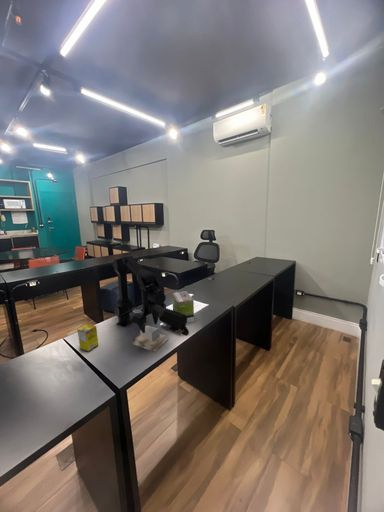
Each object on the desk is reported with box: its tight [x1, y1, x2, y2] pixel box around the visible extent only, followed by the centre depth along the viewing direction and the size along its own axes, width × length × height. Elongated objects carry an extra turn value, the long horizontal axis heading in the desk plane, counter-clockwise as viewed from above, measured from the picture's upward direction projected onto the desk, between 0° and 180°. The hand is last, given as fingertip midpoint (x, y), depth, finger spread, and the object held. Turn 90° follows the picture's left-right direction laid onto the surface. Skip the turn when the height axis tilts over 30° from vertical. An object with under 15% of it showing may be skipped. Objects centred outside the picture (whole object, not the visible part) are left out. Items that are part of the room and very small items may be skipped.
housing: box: [139, 325, 161, 342], centre depth 107 cm, size 8×5×4 cm, turn 62°
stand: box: [131, 333, 169, 353], centre depth 108 cm, size 14×11×3 cm
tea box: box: [171, 290, 195, 325], centre depth 130 cm, size 15×10×15 cm
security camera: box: [158, 307, 190, 336], centre depth 118 cm, size 7×18×10 cm, turn 53°
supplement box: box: [77, 323, 99, 353], centre depth 103 cm, size 6×6×11 cm
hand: (149, 328), depth 106 cm, fingers open, 9 cm apart
